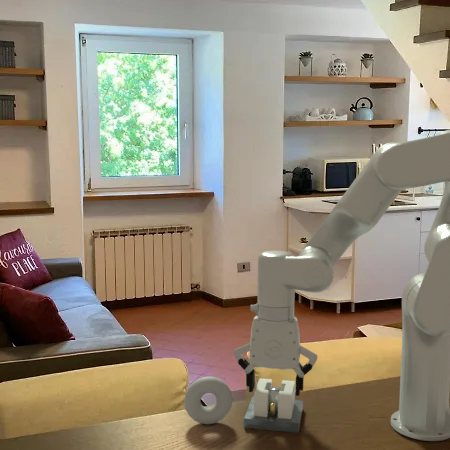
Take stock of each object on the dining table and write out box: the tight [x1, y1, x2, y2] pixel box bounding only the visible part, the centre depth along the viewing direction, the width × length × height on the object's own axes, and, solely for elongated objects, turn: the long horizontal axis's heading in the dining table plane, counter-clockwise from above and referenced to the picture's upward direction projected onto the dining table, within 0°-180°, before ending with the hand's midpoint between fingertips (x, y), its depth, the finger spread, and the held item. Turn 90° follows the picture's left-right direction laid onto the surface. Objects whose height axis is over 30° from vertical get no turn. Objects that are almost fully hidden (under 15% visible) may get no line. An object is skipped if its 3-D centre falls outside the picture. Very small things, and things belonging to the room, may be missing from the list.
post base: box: [243, 385, 304, 434], centre depth 131 cm, size 11×11×6 cm
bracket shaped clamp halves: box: [253, 378, 296, 419], centre depth 131 cm, size 8×8×5 cm
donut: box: [183, 376, 234, 425], centre depth 129 cm, size 10×4×10 cm, turn 98°
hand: (274, 391), depth 131 cm, fingers open, 9 cm apart
